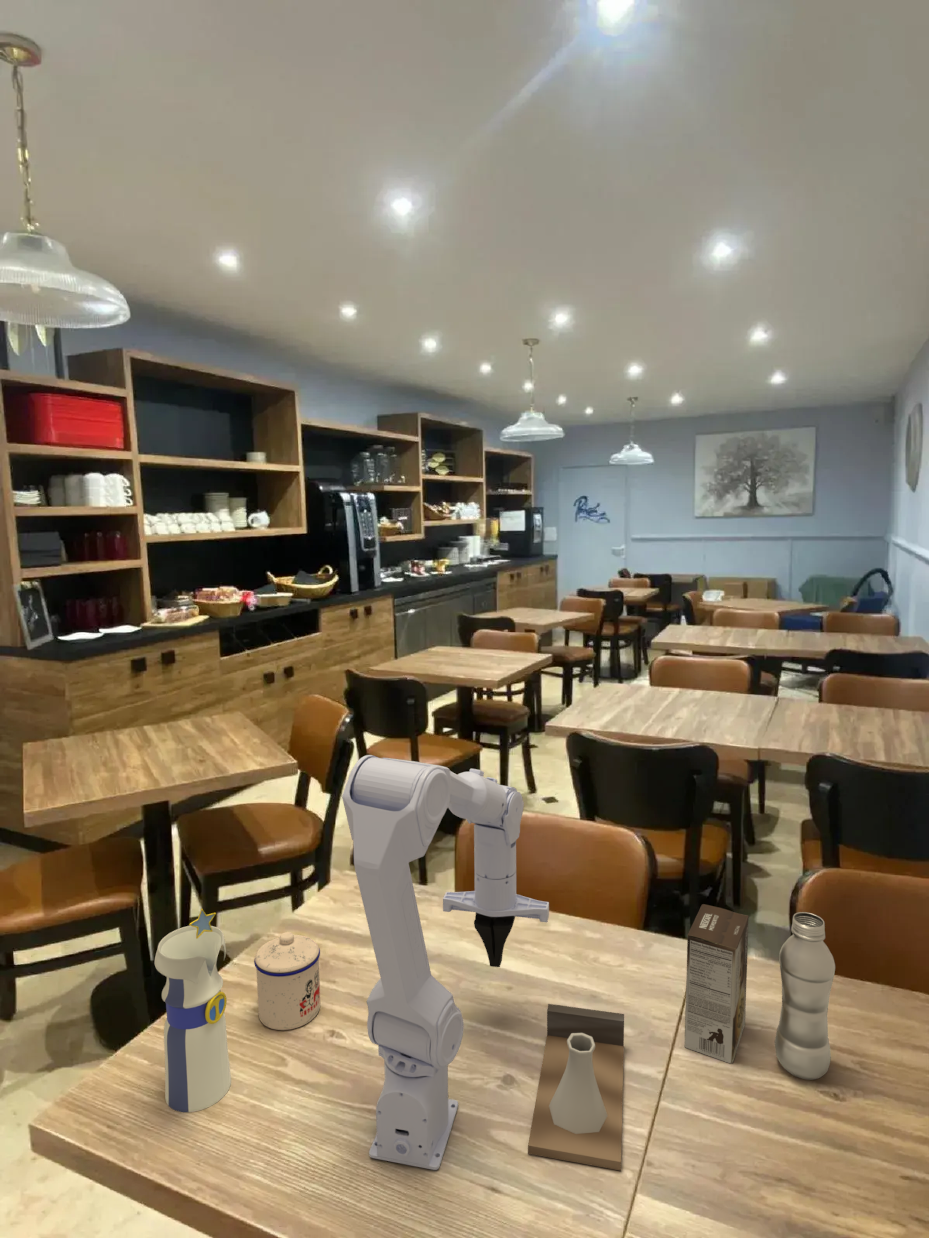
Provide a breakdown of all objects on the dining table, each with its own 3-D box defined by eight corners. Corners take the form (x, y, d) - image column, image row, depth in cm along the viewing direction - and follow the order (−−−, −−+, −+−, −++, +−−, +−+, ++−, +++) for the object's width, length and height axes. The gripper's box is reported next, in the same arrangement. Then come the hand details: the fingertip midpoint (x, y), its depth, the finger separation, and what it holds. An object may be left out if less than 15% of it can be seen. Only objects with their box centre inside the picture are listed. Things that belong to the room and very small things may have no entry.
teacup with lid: (313, 1033, 100) (309, 953, 99) (247, 1031, 100) (243, 952, 99) (333, 979, 112) (330, 908, 110) (274, 978, 112) (271, 907, 111)
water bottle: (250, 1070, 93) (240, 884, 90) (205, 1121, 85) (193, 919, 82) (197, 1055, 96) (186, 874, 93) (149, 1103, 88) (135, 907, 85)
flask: (542, 1138, 82) (545, 1059, 81) (550, 1087, 89) (553, 1014, 87) (608, 1151, 81) (612, 1072, 79) (610, 1099, 88) (614, 1025, 86)
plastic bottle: (823, 1054, 95) (831, 909, 92) (835, 1092, 88) (843, 937, 86) (770, 1045, 97) (776, 902, 94) (777, 1082, 90) (784, 930, 88)
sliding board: (620, 1170, 78) (621, 1132, 77) (527, 1153, 80) (527, 1116, 80) (623, 1045, 97) (624, 1013, 96) (548, 1034, 99) (548, 1003, 99)
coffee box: (698, 1008, 104) (702, 902, 102) (746, 1023, 101) (750, 913, 99) (682, 1047, 96) (685, 933, 94) (733, 1065, 93) (737, 947, 91)
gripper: (551, 861, 102) (551, 952, 104) (450, 852, 105) (452, 940, 107) (545, 885, 95) (545, 982, 97) (438, 875, 98) (439, 969, 100)
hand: (495, 962), depth 101 cm, fingers closed
